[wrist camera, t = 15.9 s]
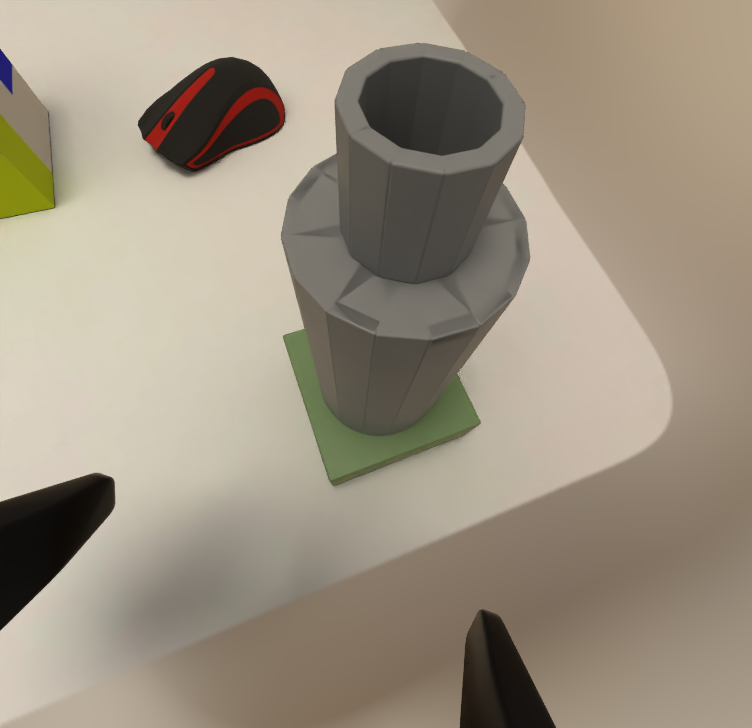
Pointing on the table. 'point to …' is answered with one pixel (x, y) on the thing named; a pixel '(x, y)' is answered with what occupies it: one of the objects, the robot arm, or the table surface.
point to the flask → (407, 231)
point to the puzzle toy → (23, 147)
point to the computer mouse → (213, 113)
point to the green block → (368, 452)
